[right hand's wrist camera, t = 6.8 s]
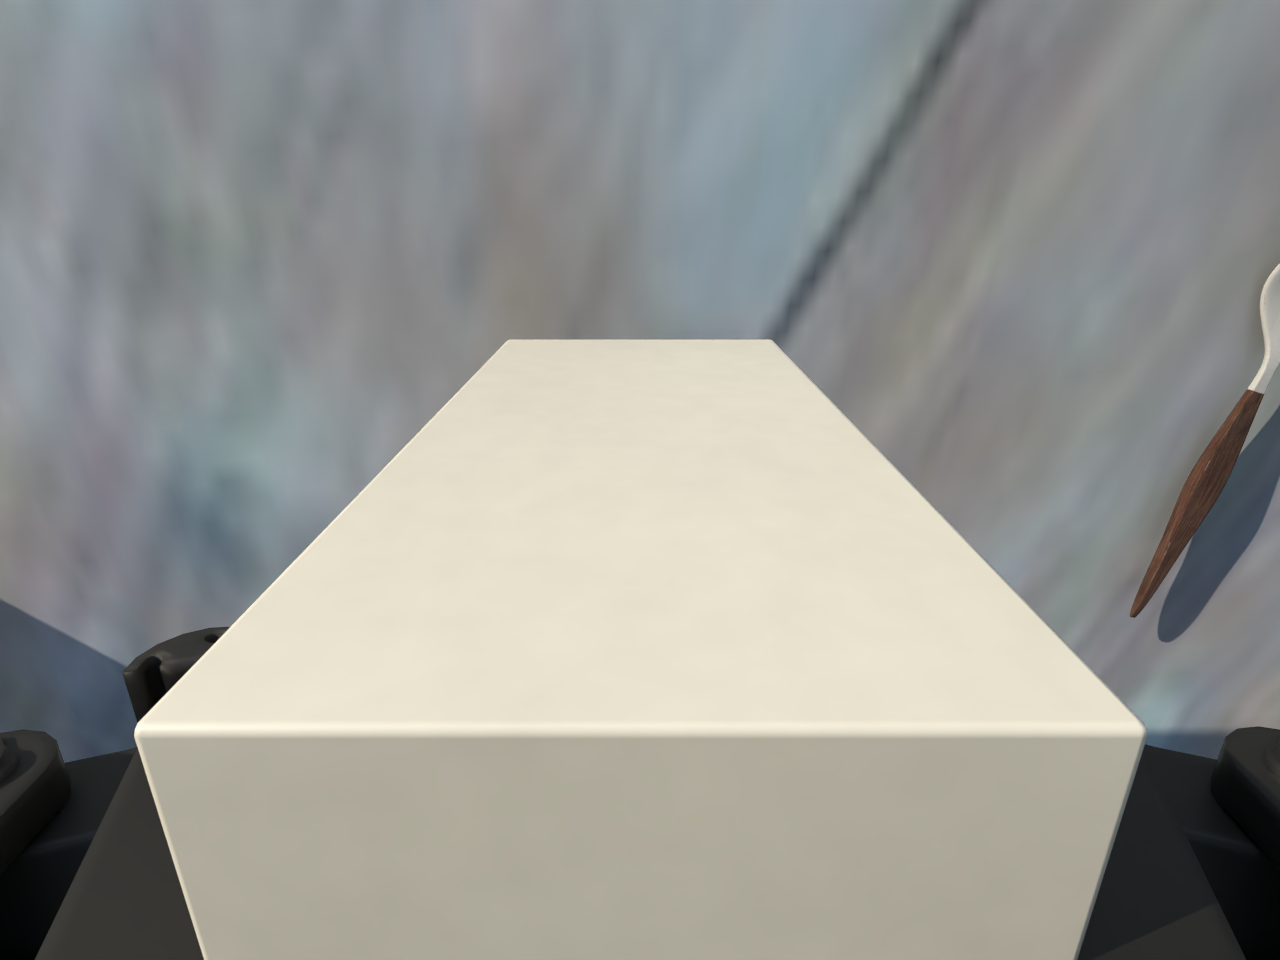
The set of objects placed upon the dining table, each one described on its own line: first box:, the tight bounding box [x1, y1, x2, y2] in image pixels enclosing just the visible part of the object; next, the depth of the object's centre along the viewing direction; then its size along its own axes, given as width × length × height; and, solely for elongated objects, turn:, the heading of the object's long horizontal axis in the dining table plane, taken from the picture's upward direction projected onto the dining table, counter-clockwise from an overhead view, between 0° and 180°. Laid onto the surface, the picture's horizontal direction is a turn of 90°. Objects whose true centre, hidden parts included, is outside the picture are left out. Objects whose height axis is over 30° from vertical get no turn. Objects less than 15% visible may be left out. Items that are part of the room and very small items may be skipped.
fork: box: [1130, 264, 1280, 618], centre depth 24 cm, size 3×16×2 cm, turn 167°
